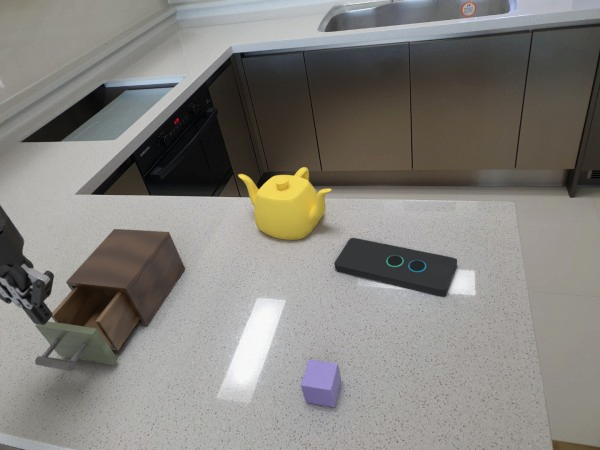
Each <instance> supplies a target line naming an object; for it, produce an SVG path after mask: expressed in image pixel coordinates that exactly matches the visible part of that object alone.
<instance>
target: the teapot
mask: <svg viewBox="0 0 600 450" xmlns="http://www.w3.org/2000/svg"><path fill="white" fill-rule="evenodd" d="M237 176H238V178H239V179H240V180H241V181H243V183H244V184H245V186H246V188H247V192H248V196H249V200H250V202H251V204H252V206H253V216H254V222H255V225H256V227H257V228H258V229H259V230H260V231H261V232H262V233H264V234H266V235H267V236H270V237H273V238H276V239H280V240H288V241H296V240H297V241H298V240H302V239H305V238H306V237H307V236H308V235H309V234H311V232H312V231H313V230H314V229H315V228H316V227H317V225H318V224H319V222H320V220H321V218H323V216H324V214H325V212H326V195H327V194H329V193H330V192H332V188H323V189H320V190H319V191H317V190H316V189H315V187H314V186H313V184H312V183H311V182H310V171H309V168H307V167H306V166H303V167H301V168H299V169H298V170H297V171H296V173H294V175H291V174H276V175H273V176H271V177H270V178H269V179H268V180H266V182H264V183H263V184H262V186H261V187H259V188H258V187H257V185H256V183H255V182H254V181H253V179H252V178H251V177H250V176H248V175H246V174H243V173H239V174H237Z"/></svg>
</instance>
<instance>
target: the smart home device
mask: <svg viewBox="0 0 600 450" xmlns="http://www.w3.org/2000/svg"><path fill="white" fill-rule="evenodd" d="M333 264H334V270H335V271H336V272H339V273H341V274H346V275H350V276H355V277H358V278H362V279H366V280H371V281H374V282H379V283H383V284H388V285H391V286H396V287H400V288H404V289H408V290H412V291H416V292H421V293H425V294H429V295H433V296H436V297H437V296H438V297H447V294H448V292H449V290H450V288H451V287H450V286H451V285H452V281H453V279H454V276H455V273H456V270H457V267H458V259H457V258H455V257H452V256H447V255H443V254H437V253H432V252H428V251H422V250H418V249H413V248H408V247H402V246H397V245H393V244H389V243H382V242H377V241H372V240H367V239H363V238H357V237H350V238H349V239H348V241H347V242H346V243H345V245H344V247H343V248H342V249H341V251H340V253H339V255H338V256H337V258H336V259H335V261H334V263H333Z"/></svg>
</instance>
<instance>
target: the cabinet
mask: <svg viewBox="0 0 600 450" xmlns="http://www.w3.org/2000/svg"><path fill="white" fill-rule="evenodd" d="M185 270H186V266H185V264H184V263H183V260H182V258H181V256H180V253H179V251H178V249H177V246H176V244H175V242H174V239H173V238H172V235H171V233H170V231H162V230H161V231H160V230H143V229H125V228H123V229H122V228H114V229H113V230H111V232H110V233H109V234H108V235H107V236H106V237H105V238H104V239H103V241H102V242H101V243H100V244H99V245H98V246H97V247H96V248H95V249H94V250H93V251H92V253H91V254H90V255H89V256H88V257H87V258H86V259H85V260H84V261H83V263H82V264H81V265H79V267H78V268H77V269H76V270H75V271H74V273H73V274H71V275H70V276H69V278H68V279H67V280H66V281H65V284H67V286H68V288H69V290H70V292H71V291H72V290H73V289H74V287H75V286H81V287H90V288H99V289H109V290H118V291H124V292H125V294H126V296H127V298H128V299H129V301H130V303H131V304H132V306H133V308H134V310H135V311H136V313H137V315H138V317H139V318H140V320H139V321H138V323H137V324H136V326H141V327H148V326H149V325H150V323H151V322H152V321H153V319H154V317H155V316H156V314H157V313H158V311H159V310H160V308H161V307H162V305H163V304H164V302H165V301H166V299H167V297H168V296H169V295H170V293H171V292H172V290H173V289H174V287H175V286H176V284H177V283H178V281H179V279H180V278H181V276H182V275H183V273H184V272H185Z"/></svg>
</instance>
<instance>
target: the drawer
mask: <svg viewBox="0 0 600 450" xmlns="http://www.w3.org/2000/svg"><path fill="white" fill-rule="evenodd" d="M51 312H52V317H51V319H52V320H53V321H50V320H49V321H48V322H47V323H46V324H45V325H39V324H35V328H36V329H37V330H38V331H39V333H40V334H41V335H42V337H43V338H44V339H45V340H46V342H47V343H48V344H49V345H50V346H49V347H48V348H47V349H46V350H45V351H44V353H43V354H42V355H38V356H37V357H36V358H35V360H34V363H35V365H36V366H40V367H46V368H51V369H56V370H62V371H67V372H72V371H73V370H75V368H76V362H77V361H78V360H82V361H87V362H93V363H98V364H104V365H105V364H106V365H111V366H114V365H115V364H116V363H117V361H118V357H117V356H116V354H115V353H114V351H119V350H120V349H121V348H122V346H123V344H124V343H125V342H126V340H127V339H128V337H129V336H130V334H131V333H132V331H133V330H134V329H135V327H136V326H137V325H136V324H137V323H138V321H139V320H140V318H139V317H138V315H137V313H136V311H135V310H134V308H133V306H132V304H131V303H130V301H129V299H128V298H127V296H126V294H125V292H124V291H118V290H109V289H99V288H90V287H81V286H75V287H74V289H73V290H72V291H71V290H70V292H69V293H68V294H67V295H66V296H65V297H64V299H63V300H62V301H61V302H60V303H59V304H58V305H57V307H56V308H55V309H54V310H53V311H51ZM53 351H54V352H56V354H57V355H58V356H59V357H64V358H70V359H69V360H67V359H61V358H56V357H50V355H51V354H52V352H53Z"/></svg>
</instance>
